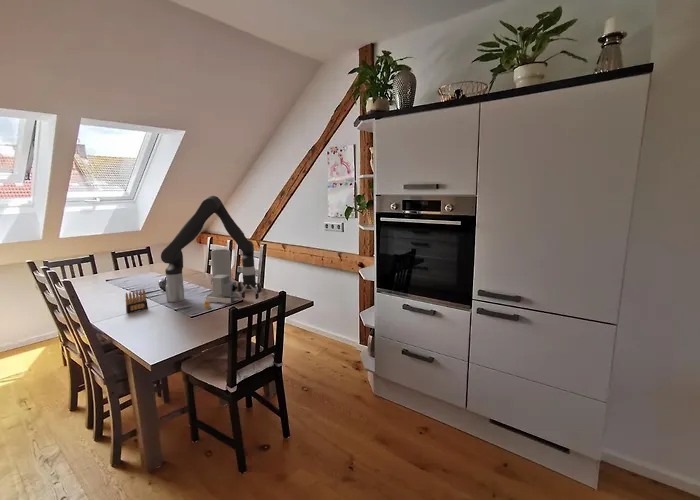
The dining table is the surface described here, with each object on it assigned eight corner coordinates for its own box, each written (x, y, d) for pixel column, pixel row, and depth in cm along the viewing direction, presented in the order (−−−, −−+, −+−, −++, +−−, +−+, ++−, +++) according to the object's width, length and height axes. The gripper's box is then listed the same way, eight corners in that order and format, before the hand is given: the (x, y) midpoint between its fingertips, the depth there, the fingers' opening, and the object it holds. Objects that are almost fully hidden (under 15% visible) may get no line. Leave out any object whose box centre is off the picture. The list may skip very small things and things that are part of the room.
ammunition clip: (127, 313, 200) (125, 293, 197) (126, 312, 201) (123, 292, 199) (148, 308, 208) (145, 288, 205) (146, 308, 209) (144, 288, 207)
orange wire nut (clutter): (203, 308, 209) (202, 301, 208) (206, 306, 212) (205, 300, 211) (208, 308, 209) (207, 302, 208) (211, 306, 212) (210, 300, 211)
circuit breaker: (234, 302, 219) (232, 278, 216) (212, 301, 221) (210, 277, 218) (239, 298, 227) (238, 275, 224) (218, 297, 229) (216, 274, 226)
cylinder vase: (228, 288, 247) (226, 253, 242) (210, 288, 247) (207, 252, 242) (234, 283, 259) (232, 249, 254) (217, 283, 259) (214, 249, 254)
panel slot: (206, 301, 220) (205, 295, 219) (216, 295, 232) (215, 290, 231) (230, 303, 217) (230, 297, 217) (239, 297, 229) (239, 291, 228)
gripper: (235, 274, 216) (236, 299, 219) (257, 275, 214) (258, 301, 217) (240, 271, 223) (242, 296, 226) (262, 272, 221) (263, 297, 224)
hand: (250, 298), depth 221 cm, fingers open, 8 cm apart
